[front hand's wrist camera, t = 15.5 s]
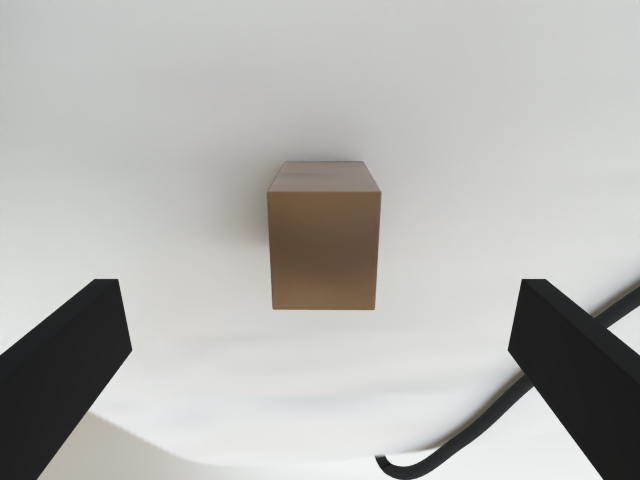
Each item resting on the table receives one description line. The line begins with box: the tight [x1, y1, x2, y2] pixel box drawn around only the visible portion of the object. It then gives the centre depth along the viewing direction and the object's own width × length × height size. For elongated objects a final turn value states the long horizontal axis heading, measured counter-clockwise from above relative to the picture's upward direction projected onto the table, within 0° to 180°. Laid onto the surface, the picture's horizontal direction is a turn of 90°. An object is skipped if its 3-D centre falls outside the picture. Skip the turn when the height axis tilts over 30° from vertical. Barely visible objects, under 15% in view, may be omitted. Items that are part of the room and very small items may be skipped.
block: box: [267, 162, 381, 310], centre depth 21 cm, size 6×5×8 cm
